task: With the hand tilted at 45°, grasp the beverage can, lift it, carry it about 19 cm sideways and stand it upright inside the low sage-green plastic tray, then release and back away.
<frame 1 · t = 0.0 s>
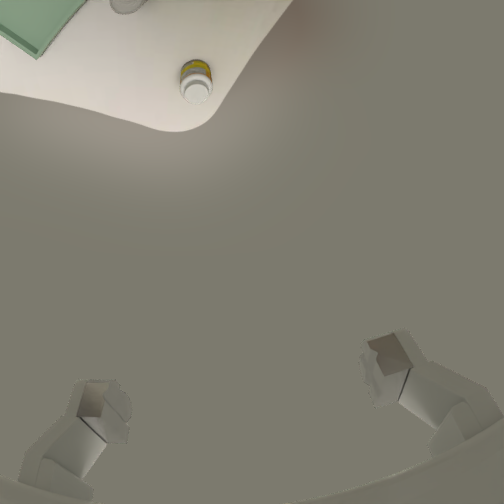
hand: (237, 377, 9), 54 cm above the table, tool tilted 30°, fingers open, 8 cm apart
supplement bottle 2: (195, 70, 50), on the table
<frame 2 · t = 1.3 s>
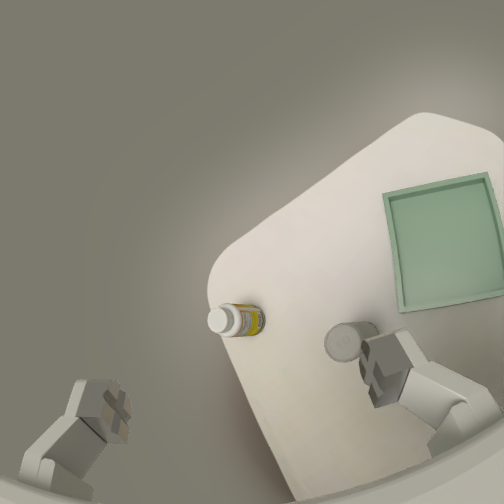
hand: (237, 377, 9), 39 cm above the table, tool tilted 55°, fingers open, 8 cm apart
green tray: (448, 243, 39), on the table
beverage can: (364, 336, 44), on the table
supplement bottle 2: (253, 320, 55), on the table
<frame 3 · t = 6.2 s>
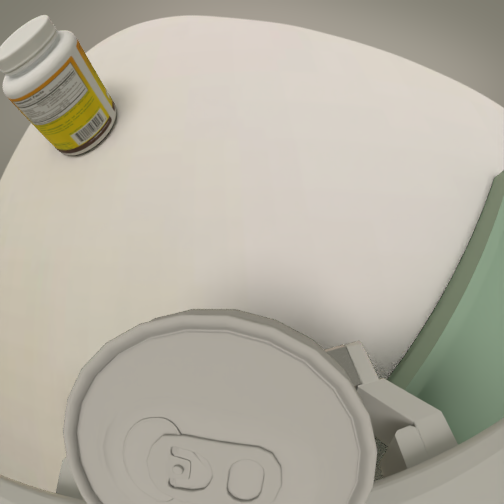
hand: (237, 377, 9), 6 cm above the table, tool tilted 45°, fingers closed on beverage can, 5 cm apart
beverage can: (250, 372, 15), on the table, touching gripper
supplement bottle 2: (88, 129, 20), on the table
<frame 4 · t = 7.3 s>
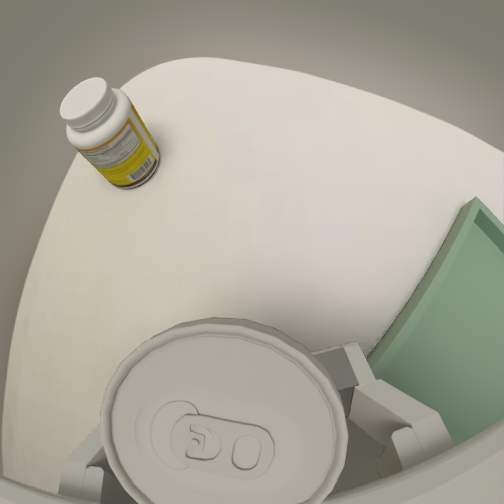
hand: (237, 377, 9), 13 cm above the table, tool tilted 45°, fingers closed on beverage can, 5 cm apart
green tray: (482, 343, 20), on the table
beverage can: (249, 369, 16), point 6 cm above the table, touching gripper
supplement bottle 2: (134, 165, 27), on the table
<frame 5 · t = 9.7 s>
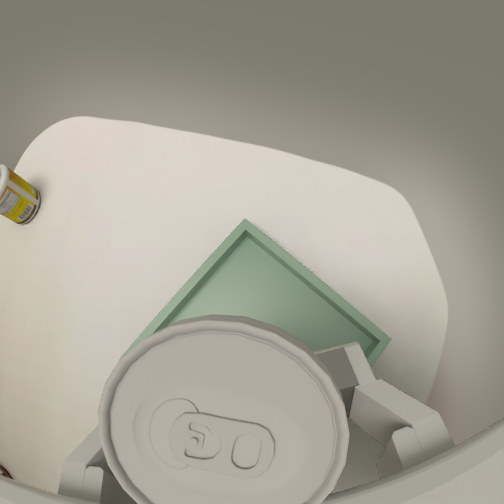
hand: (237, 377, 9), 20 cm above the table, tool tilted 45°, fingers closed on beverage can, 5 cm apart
supplement bottle: (5, 479, 23), on the table
green tray: (255, 354, 28), on the table
beverage can: (248, 368, 16), point 13 cm above the table, touching gripper
supplement bottle 2: (28, 207, 34), on the table
when the fingers open (8 cm above the table, at t = 12.2 s): beverage can stays where it is, resting on green tray.
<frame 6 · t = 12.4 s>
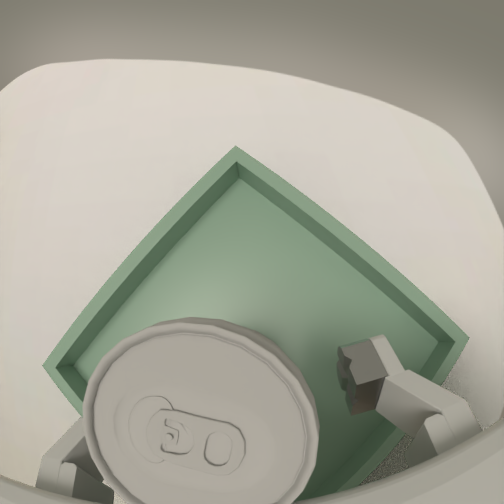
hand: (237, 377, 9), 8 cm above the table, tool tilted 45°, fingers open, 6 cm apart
green tray: (252, 368, 17), on the table
beverage can: (241, 370, 16), resting on green tray
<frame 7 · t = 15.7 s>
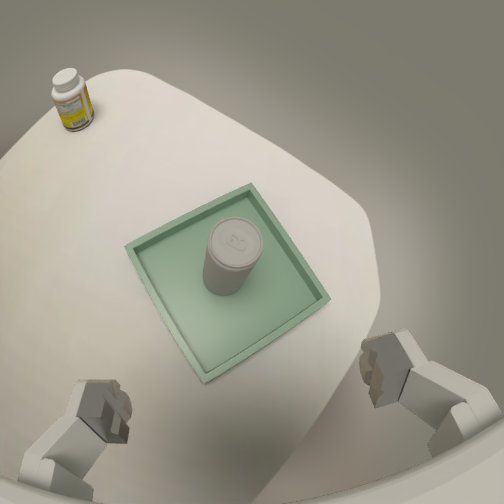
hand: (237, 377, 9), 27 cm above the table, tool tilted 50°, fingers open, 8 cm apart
green tray: (226, 279, 38), on the table
beverage can: (222, 277, 37), resting on green tray
supplement bottle 2: (79, 121, 41), on the table
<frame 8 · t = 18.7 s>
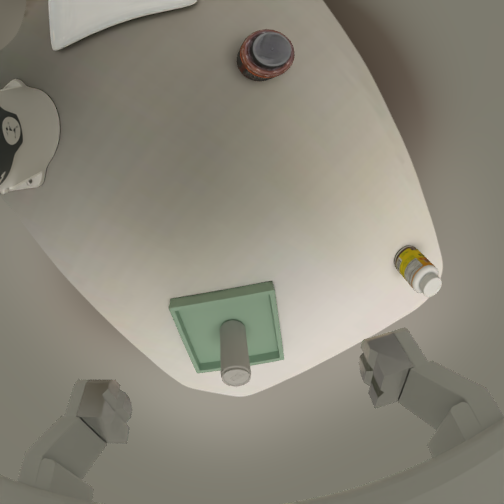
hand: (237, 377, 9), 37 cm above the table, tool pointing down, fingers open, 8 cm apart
supplement bottle: (258, 61, 36), on the table
green tray: (230, 327, 57), on the table
beverage can: (232, 327, 57), resting on green tray
supplement bottle 2: (404, 256, 54), on the table
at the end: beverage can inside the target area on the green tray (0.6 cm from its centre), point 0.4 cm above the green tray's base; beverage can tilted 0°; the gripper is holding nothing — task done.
